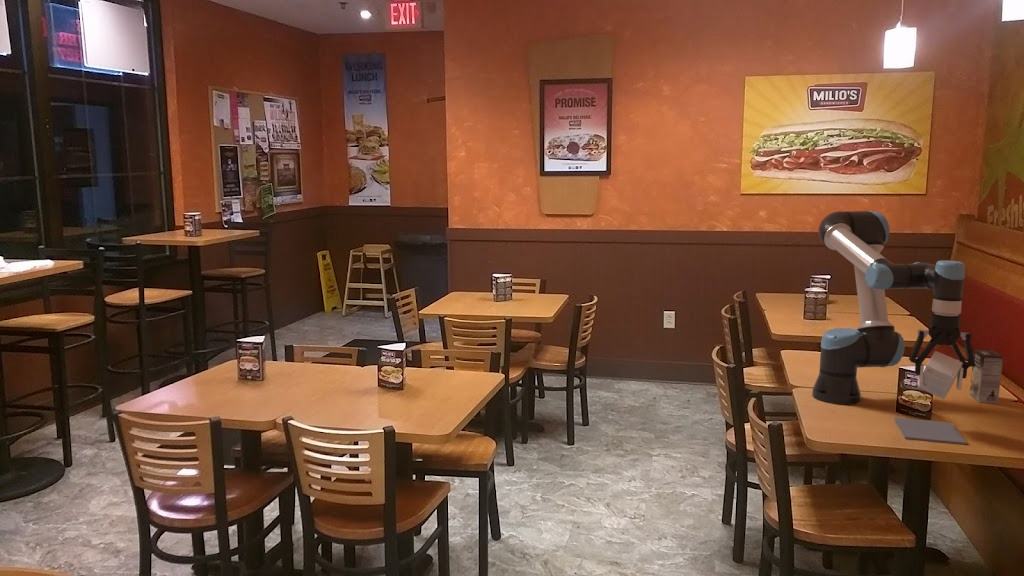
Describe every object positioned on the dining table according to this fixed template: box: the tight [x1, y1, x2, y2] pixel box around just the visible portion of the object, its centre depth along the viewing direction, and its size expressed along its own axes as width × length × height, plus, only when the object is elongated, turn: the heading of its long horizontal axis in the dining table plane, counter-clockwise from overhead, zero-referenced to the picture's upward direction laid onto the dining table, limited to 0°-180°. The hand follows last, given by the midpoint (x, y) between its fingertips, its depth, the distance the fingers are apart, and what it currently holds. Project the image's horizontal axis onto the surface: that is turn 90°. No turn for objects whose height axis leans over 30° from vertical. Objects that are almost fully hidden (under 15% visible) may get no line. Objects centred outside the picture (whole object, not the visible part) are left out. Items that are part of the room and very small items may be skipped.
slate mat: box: [893, 417, 968, 445], centre depth 235 cm, size 16×18×1 cm
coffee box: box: [969, 349, 1004, 404], centre depth 266 cm, size 9×6×16 cm
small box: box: [917, 350, 963, 400], centre depth 235 cm, size 8×6×13 cm
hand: (939, 387), depth 235 cm, fingers closed on small box, 10 cm apart
